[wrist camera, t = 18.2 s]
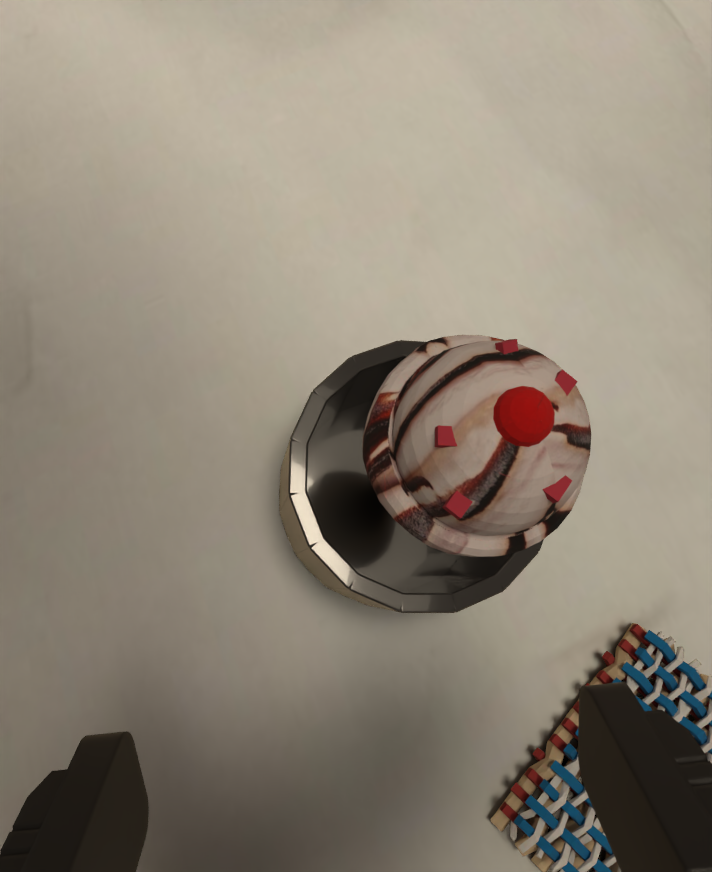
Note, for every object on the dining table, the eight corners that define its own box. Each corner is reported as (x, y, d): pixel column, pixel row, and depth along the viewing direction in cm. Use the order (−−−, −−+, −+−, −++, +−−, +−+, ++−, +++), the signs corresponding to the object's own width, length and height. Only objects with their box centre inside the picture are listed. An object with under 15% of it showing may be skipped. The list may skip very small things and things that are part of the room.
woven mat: (627, 607, 29) (654, 609, 27) (810, 779, 29) (851, 794, 27) (475, 811, 26) (494, 830, 24) (676, 1003, 26) (711, 1038, 24)
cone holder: (275, 604, 27) (284, 612, 21) (282, 386, 29) (292, 332, 22) (492, 605, 28) (562, 612, 22) (485, 397, 30) (549, 349, 24)
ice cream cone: (373, 402, 29) (506, 220, 14) (479, 485, 29) (721, 389, 14) (289, 508, 27) (340, 427, 13) (400, 597, 27) (580, 616, 13)
